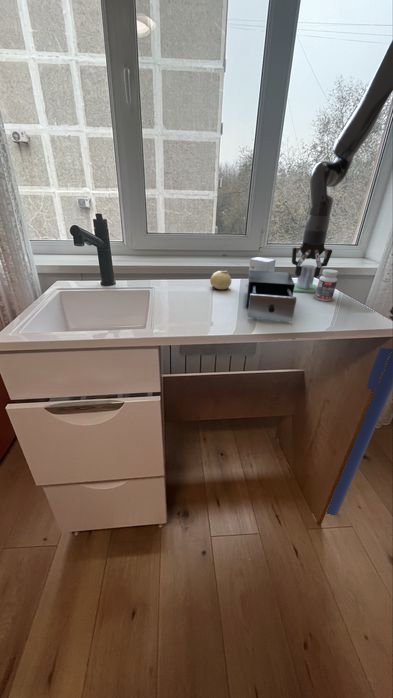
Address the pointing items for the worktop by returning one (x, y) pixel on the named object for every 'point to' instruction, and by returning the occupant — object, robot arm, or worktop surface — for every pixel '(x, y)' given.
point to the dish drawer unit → (268, 281)
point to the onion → (220, 280)
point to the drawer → (271, 303)
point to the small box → (262, 264)
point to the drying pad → (312, 290)
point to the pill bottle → (326, 285)
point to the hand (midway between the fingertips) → (306, 276)
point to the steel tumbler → (306, 276)
